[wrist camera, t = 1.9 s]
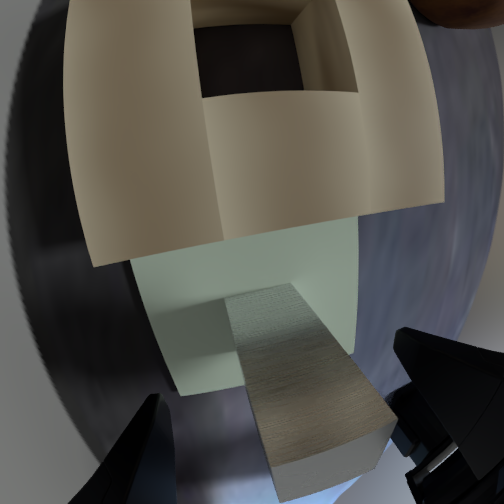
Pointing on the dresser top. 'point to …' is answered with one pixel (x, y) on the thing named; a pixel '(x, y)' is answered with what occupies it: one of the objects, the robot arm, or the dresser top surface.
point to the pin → (305, 394)
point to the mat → (243, 281)
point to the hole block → (243, 123)
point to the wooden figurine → (462, 13)
